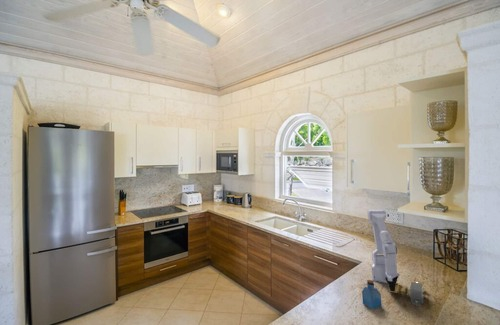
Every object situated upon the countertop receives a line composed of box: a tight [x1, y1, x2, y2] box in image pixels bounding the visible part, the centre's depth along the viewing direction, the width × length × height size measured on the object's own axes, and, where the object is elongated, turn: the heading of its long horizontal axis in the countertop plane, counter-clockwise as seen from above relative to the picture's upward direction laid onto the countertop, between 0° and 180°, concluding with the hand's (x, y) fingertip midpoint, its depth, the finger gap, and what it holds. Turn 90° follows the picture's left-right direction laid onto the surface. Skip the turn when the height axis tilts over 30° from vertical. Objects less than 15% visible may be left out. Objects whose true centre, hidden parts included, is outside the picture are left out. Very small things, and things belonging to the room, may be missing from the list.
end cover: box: [388, 282, 409, 295], centre depth 132 cm, size 9×5×5 cm, turn 52°
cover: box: [413, 280, 426, 293], centre depth 135 cm, size 5×5×4 cm
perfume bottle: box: [361, 279, 382, 310], centre depth 124 cm, size 6×6×12 cm
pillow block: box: [409, 281, 424, 307], centre depth 127 cm, size 5×16×6 cm, turn 142°
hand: (392, 289), depth 134 cm, fingers open, 4 cm apart
